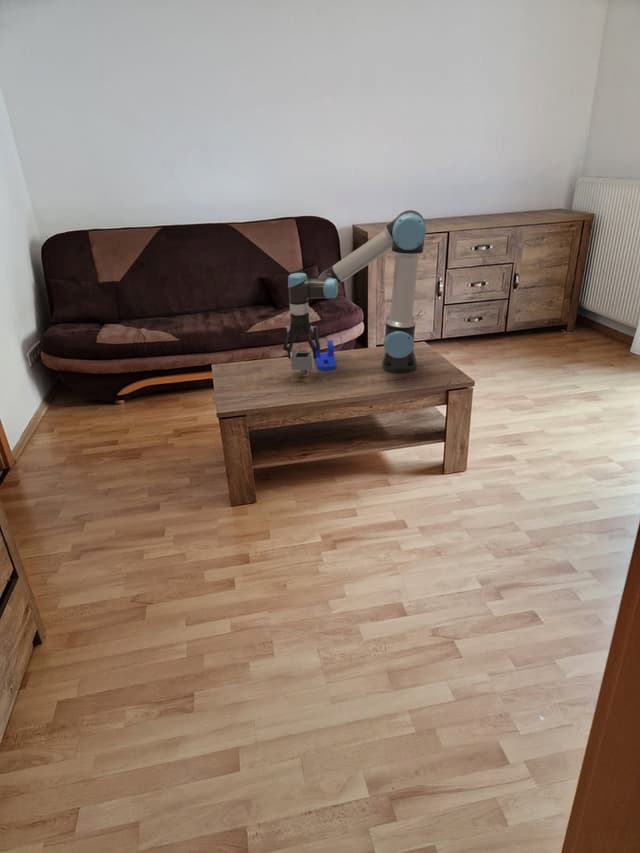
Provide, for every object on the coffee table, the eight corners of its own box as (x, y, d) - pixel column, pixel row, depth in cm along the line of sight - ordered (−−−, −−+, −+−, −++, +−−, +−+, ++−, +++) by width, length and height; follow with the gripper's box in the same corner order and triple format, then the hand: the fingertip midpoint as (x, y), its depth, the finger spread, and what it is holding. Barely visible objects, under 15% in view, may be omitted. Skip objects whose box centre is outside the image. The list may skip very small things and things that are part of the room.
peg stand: (317, 373, 245) (316, 355, 241) (314, 382, 236) (312, 364, 232) (294, 373, 246) (293, 355, 242) (290, 382, 237) (289, 364, 234)
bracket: (314, 358, 263) (313, 339, 259) (332, 356, 263) (331, 338, 259) (318, 372, 247) (317, 352, 243) (337, 370, 247) (336, 350, 243)
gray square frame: (313, 362, 242) (313, 351, 239) (310, 369, 235) (310, 358, 232) (295, 362, 243) (294, 351, 240) (291, 369, 236) (291, 358, 233)
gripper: (326, 310, 230) (328, 362, 240) (276, 310, 233) (280, 362, 243) (323, 315, 223) (326, 369, 234) (272, 315, 226) (276, 368, 237)
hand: (302, 365), depth 238 cm, fingers closed on gray square frame, 8 cm apart
